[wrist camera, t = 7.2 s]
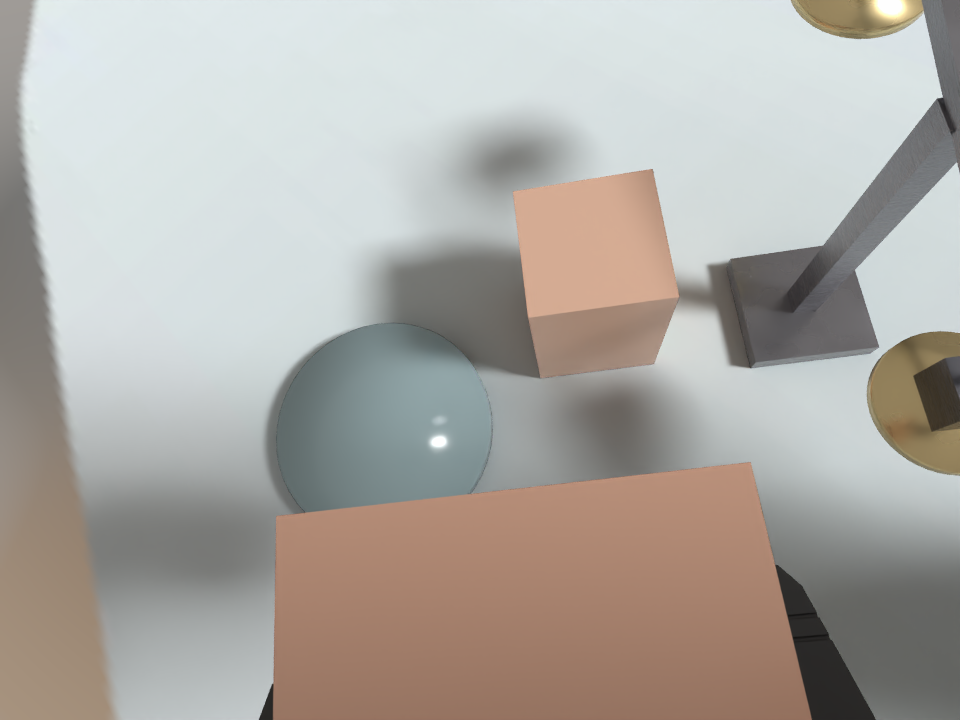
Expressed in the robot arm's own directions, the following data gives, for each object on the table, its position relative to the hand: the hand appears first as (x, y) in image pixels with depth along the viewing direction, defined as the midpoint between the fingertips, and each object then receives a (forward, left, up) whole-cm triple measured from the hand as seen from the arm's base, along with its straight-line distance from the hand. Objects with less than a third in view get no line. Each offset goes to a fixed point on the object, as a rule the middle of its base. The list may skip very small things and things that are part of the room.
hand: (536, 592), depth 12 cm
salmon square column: (-3, -13, -20) cm, 25 cm away
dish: (+9, -8, -20) cm, 24 cm away
